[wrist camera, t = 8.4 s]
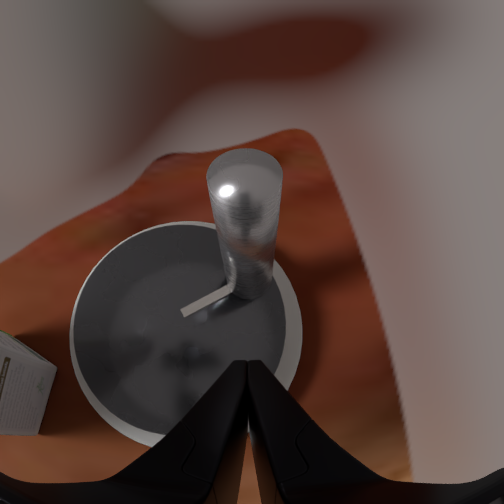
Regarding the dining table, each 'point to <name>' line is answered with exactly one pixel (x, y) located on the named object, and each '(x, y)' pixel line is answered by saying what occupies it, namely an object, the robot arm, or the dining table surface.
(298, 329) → the base
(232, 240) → the dial
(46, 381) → the syrup box
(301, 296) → the dining table surface
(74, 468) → the dining table surface
